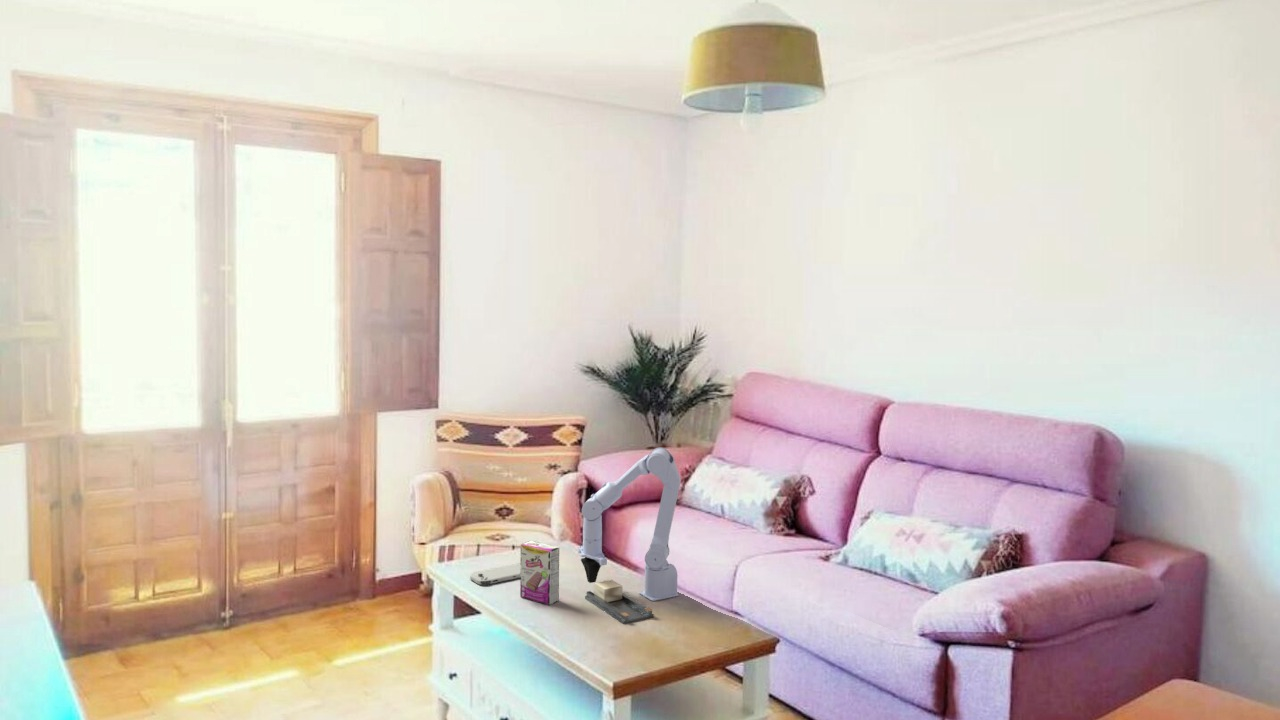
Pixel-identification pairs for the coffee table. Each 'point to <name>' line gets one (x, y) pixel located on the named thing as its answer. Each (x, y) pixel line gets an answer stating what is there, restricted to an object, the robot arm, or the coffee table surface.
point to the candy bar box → (539, 572)
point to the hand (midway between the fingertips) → (591, 581)
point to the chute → (621, 608)
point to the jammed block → (608, 590)
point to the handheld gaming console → (497, 574)
